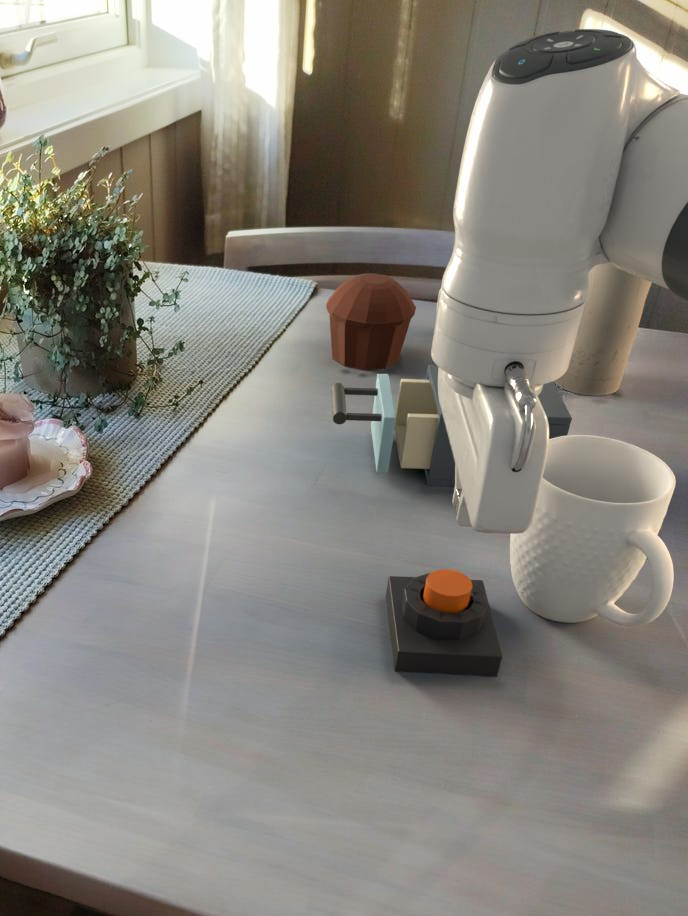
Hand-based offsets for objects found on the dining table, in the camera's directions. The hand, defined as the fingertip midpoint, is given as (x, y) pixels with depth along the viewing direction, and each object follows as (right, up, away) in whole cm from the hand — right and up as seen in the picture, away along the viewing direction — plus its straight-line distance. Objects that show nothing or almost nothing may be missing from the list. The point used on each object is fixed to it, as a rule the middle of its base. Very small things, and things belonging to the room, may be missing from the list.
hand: (465, 516), depth 67 cm
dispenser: (+10, +10, +30) cm, 33 cm away
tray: (+2, +11, +30) cm, 32 cm away
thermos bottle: (+28, +23, +45) cm, 57 cm away
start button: (0, -6, +5) cm, 8 cm away
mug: (+12, -7, +10) cm, 17 cm away
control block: (0, -9, +7) cm, 12 cm away
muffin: (+1, +28, +51) cm, 58 cm away
